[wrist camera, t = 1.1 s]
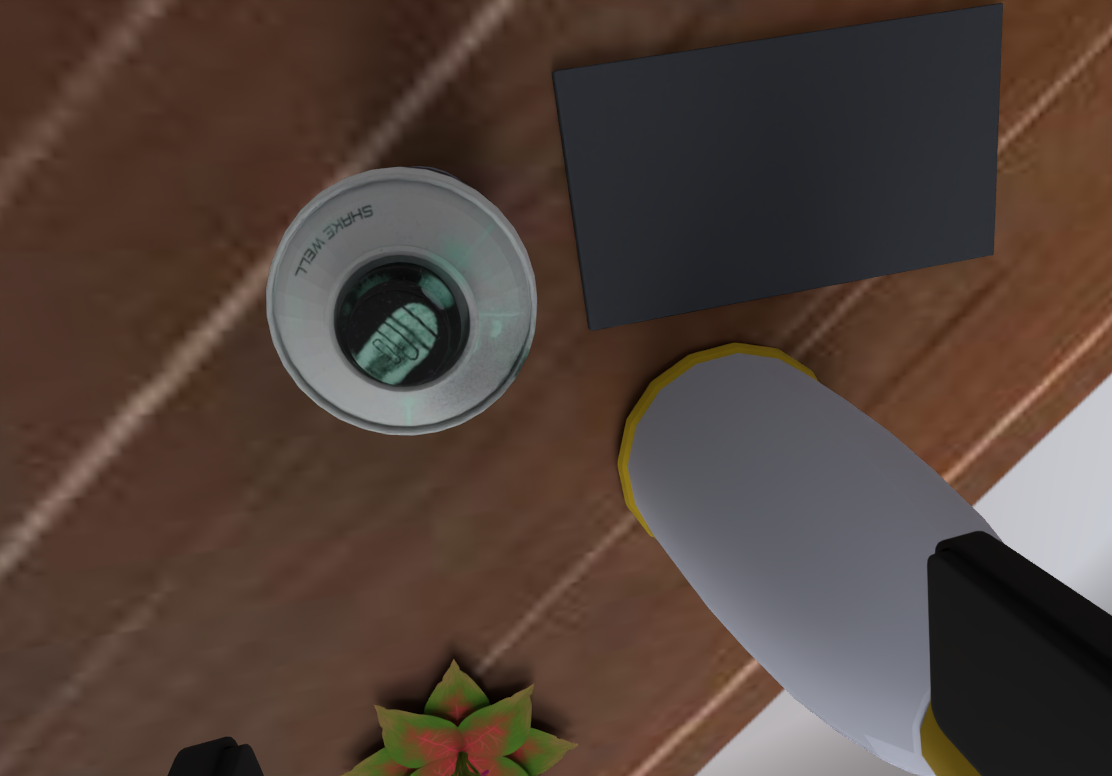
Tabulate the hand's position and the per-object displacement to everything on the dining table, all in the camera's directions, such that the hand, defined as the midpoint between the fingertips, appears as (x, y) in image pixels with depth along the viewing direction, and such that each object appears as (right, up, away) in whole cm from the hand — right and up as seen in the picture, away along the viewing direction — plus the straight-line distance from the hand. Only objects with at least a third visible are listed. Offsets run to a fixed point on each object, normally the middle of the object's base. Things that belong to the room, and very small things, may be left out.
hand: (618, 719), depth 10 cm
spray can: (-7, +11, +21) cm, 25 cm away
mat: (+10, +14, +23) cm, 29 cm away
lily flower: (-6, -15, +30) cm, 34 cm away
